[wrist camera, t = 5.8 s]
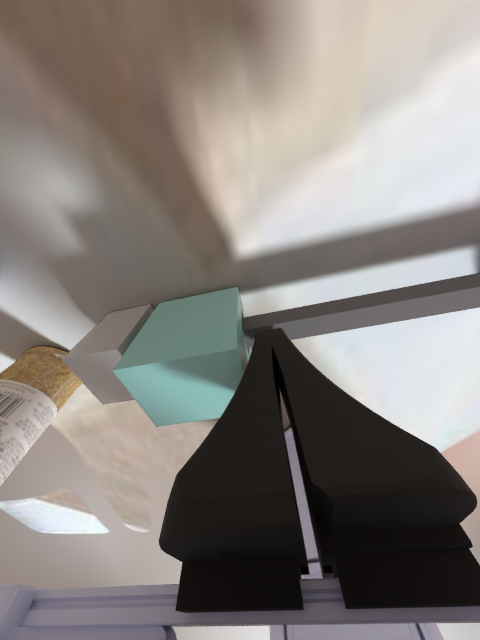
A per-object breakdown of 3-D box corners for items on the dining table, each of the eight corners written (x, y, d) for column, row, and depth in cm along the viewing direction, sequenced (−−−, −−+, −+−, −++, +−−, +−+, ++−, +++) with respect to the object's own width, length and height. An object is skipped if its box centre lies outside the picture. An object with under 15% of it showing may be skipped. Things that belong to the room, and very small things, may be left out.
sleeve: (237, 286, 12) (236, 348, 8) (250, 338, 14) (256, 413, 10) (159, 303, 13) (112, 370, 8) (182, 351, 15) (156, 426, 10)
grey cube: (151, 303, 14) (116, 349, 10) (172, 345, 15) (150, 397, 12) (102, 313, 14) (52, 361, 10) (129, 353, 16) (95, 405, 12)
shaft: (551, 256, 10) (593, 265, 9) (535, 282, 11) (572, 294, 10) (123, 337, 13) (110, 353, 12) (134, 354, 14) (124, 371, 12)
